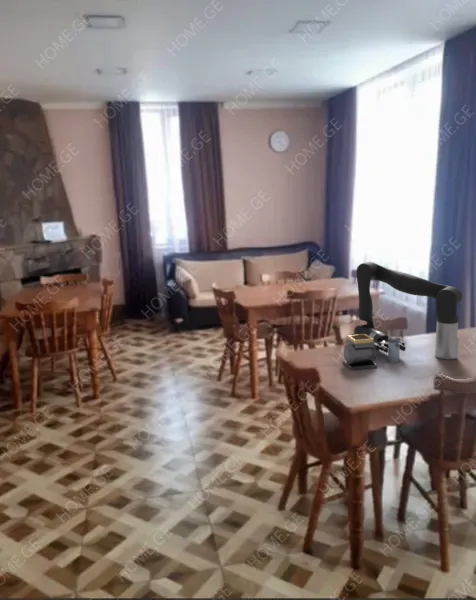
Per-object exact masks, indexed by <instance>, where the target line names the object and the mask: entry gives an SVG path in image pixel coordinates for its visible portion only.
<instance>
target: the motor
mask: <svg viewBox="0 0 476 600" xmlns="http://www.w3.org/2000/svg"><path fill="white" fill-rule="evenodd" d="M377 356H378V351H376V347H375V345H374V342H373V338H371V337H369V336H368V335H366V334H358V335H355V334H349V335H347V338H346V343H345V345H344V346H343V358H344V359H343V361H342V364H344V366H346V367H347V368H348V369H350V370H351V371H361V370H369V369H377V368H378V364H377V363H376V362H375V361H376V360H377V359H378V358H377Z"/></svg>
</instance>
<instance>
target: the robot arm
mask: <svg viewBox="0 0 476 600" xmlns="http://www.w3.org/2000/svg"><path fill="white" fill-rule="evenodd" d="M355 271H356V272H355V273H356V274H355V275H356V280H357V281H356V282H357V291H358V315H357V318H358V320H360V321H363V322H365V323H366V324H358V325H356V326H355V327H354V328H353V332H354V333H353V334H354V335H358V334H366V335H368V336H369V337H371V338H373V342H374V345H375V347H376V351H377V352H379V351H380V352H384V353H386V354H388V345H389V341H388V337H390V336H389V335H387V334H385V333H383V332H382V331H378V330H377V329H376V327H375V323H374V319H373V309H374V308H373V299H372V296H371V290H370V287H371V286H370V285H371V281H373V280H374V281H378V282H382V283H385V284H387V285H388V286H389V287H392V288H393V289H394V290H396V291H399V292H401V293H404V294H408V295H411V296H419V297H428V298H432V299H435V316H436V331H435V335H436V337H435V350H434V352H435V353H434V356H435V357H436V358H438V359H442V360H454V359H458V356H459V355H458V354H459V338H458V332H459V331H458V330H459V316H458V314H457V306H458V305H459V303H460V302H461V301H462V300H463V293H462V291H461V290H460V289H459V288H457V287H455V286H451V285H447V284H442V283H437V282H433V281H431V280H429V279H425V278H422V277H419V276H416V275H413V274H409V273H406V272H402V271H399V270H394V269H390V268H388V267H385V266H383V265H380V264H378V263H375V262H372V261H367V262H363V263H360V264H359V265H358V266H357V267H356V270H355ZM405 345H406V343H405V342H404V341H402V340H401V341H400V351H402V352H405V351H406V346H405Z"/></svg>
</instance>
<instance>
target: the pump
mask: <svg viewBox="0 0 476 600" xmlns="http://www.w3.org/2000/svg"><path fill="white" fill-rule="evenodd" d="M388 341H389V345H388V353H387V362H389V363H392V364H397V363H400V351H401V349H400V341H402V339H401V337H398V336H389V337H388Z"/></svg>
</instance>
